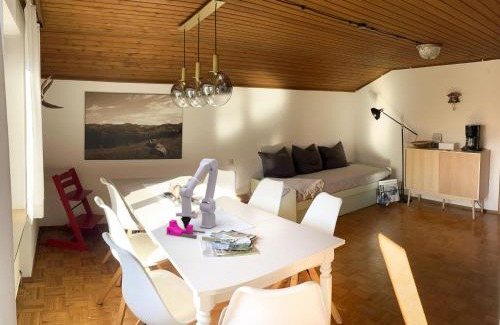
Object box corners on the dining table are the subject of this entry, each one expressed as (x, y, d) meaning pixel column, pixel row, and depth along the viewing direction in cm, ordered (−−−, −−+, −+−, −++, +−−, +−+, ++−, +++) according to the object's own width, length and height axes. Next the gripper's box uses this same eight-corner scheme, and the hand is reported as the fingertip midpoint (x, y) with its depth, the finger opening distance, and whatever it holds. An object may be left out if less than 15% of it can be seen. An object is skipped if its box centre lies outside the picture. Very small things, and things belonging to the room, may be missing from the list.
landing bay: (212, 235, 237) (212, 232, 237) (240, 238, 230) (240, 235, 230) (201, 240, 226) (201, 236, 225) (231, 243, 218) (231, 240, 218)
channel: (180, 231, 245) (180, 228, 245) (205, 234, 238) (205, 231, 238) (170, 235, 234) (170, 232, 234) (195, 239, 228) (195, 235, 228)
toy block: (166, 234, 236) (166, 222, 234) (172, 230, 242) (173, 219, 240) (186, 240, 230) (187, 228, 228) (192, 236, 235) (193, 224, 234)
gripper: (172, 207, 237) (173, 228, 238) (192, 209, 231) (193, 231, 232) (179, 205, 243) (179, 226, 244) (199, 207, 237) (199, 228, 238)
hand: (186, 228), depth 239 cm, fingers closed, pressing on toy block
